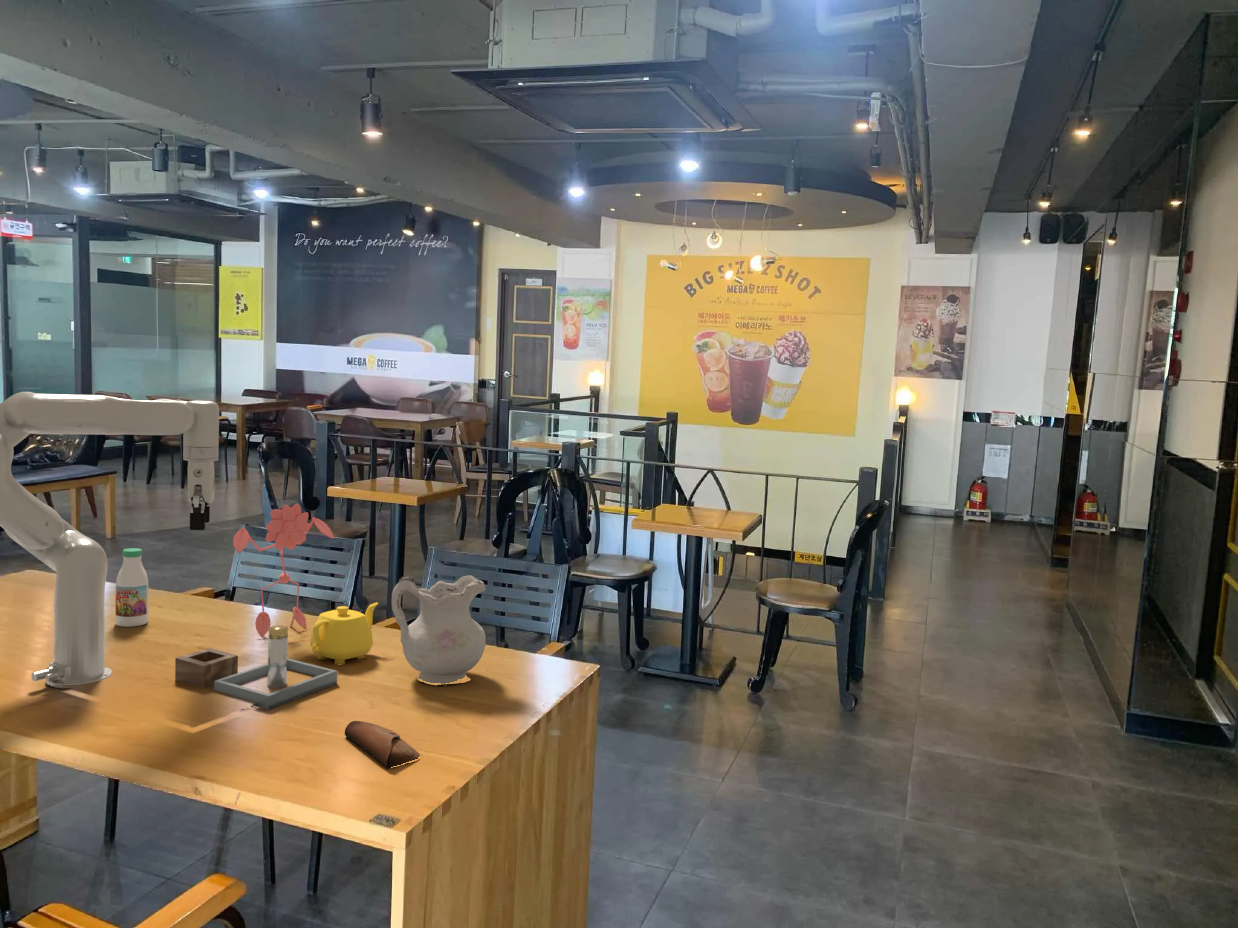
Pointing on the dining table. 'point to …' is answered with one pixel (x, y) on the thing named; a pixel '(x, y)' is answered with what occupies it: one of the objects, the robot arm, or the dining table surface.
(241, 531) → the figurine
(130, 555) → the milk bottle
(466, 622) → the ceramic pitcher
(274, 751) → the dining table surface
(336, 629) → the teapot
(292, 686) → the tray
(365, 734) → the sunglasses case
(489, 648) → the dining table surface
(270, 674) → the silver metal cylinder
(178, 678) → the holder block
